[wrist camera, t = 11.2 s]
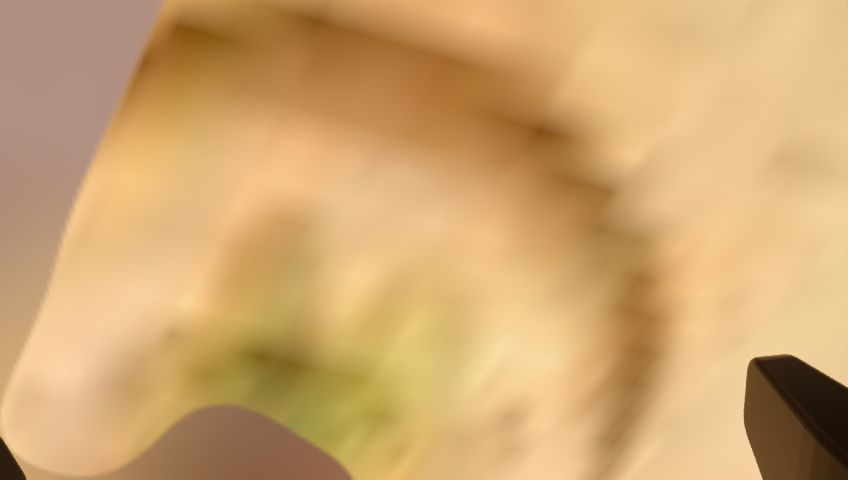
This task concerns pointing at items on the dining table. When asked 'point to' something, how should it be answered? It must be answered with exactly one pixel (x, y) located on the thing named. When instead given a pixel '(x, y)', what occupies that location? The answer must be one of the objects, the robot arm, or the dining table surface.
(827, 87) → the dining table surface
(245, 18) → the dining table surface
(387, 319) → the dining table surface
